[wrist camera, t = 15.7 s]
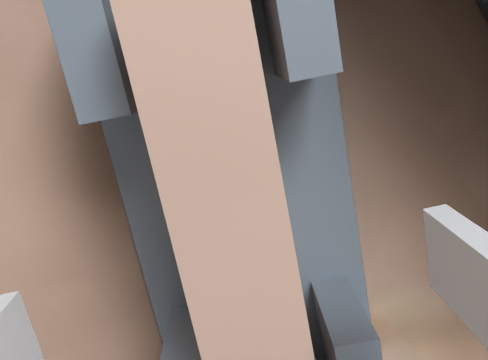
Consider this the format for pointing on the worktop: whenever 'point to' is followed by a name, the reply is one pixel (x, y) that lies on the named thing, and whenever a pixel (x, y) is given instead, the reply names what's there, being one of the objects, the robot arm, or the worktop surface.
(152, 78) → the tan rectangular block
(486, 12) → the storage bin
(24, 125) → the worktop surface
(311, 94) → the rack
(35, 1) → the worktop surface
